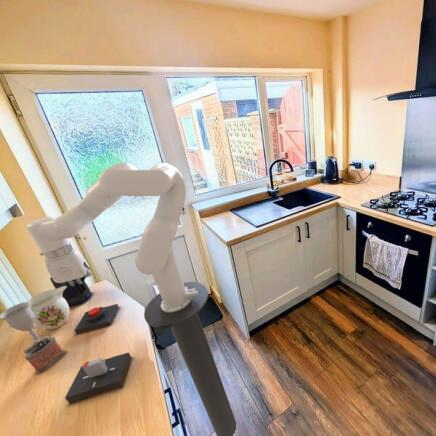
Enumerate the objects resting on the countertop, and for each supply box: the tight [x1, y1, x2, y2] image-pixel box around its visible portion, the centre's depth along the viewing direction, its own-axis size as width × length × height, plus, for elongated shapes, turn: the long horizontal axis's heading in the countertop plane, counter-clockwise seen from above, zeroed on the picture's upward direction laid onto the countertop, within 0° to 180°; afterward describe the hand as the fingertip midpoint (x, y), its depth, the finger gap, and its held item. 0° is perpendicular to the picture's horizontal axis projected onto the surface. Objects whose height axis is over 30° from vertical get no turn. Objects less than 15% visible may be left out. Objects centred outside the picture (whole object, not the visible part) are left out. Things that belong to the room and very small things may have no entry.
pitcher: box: [26, 286, 71, 330], centre depth 99 cm, size 11×18×14 cm, turn 137°
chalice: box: [0, 301, 43, 344], centre depth 89 cm, size 7×7×18 cm
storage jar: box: [49, 276, 93, 308], centre depth 112 cm, size 10×10×15 cm
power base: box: [73, 303, 120, 335], centre depth 100 cm, size 12×10×4 cm
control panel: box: [64, 352, 133, 405], centre depth 77 cm, size 14×10×3 cm
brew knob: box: [82, 357, 108, 378], centre depth 75 cm, size 4×2×5 cm, turn 106°
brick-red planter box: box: [23, 335, 66, 374], centre depth 83 cm, size 8×3×10 cm, turn 159°
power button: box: [87, 306, 101, 317], centre depth 99 cm, size 4×4×2 cm
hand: (83, 290), depth 94 cm, fingers closed
